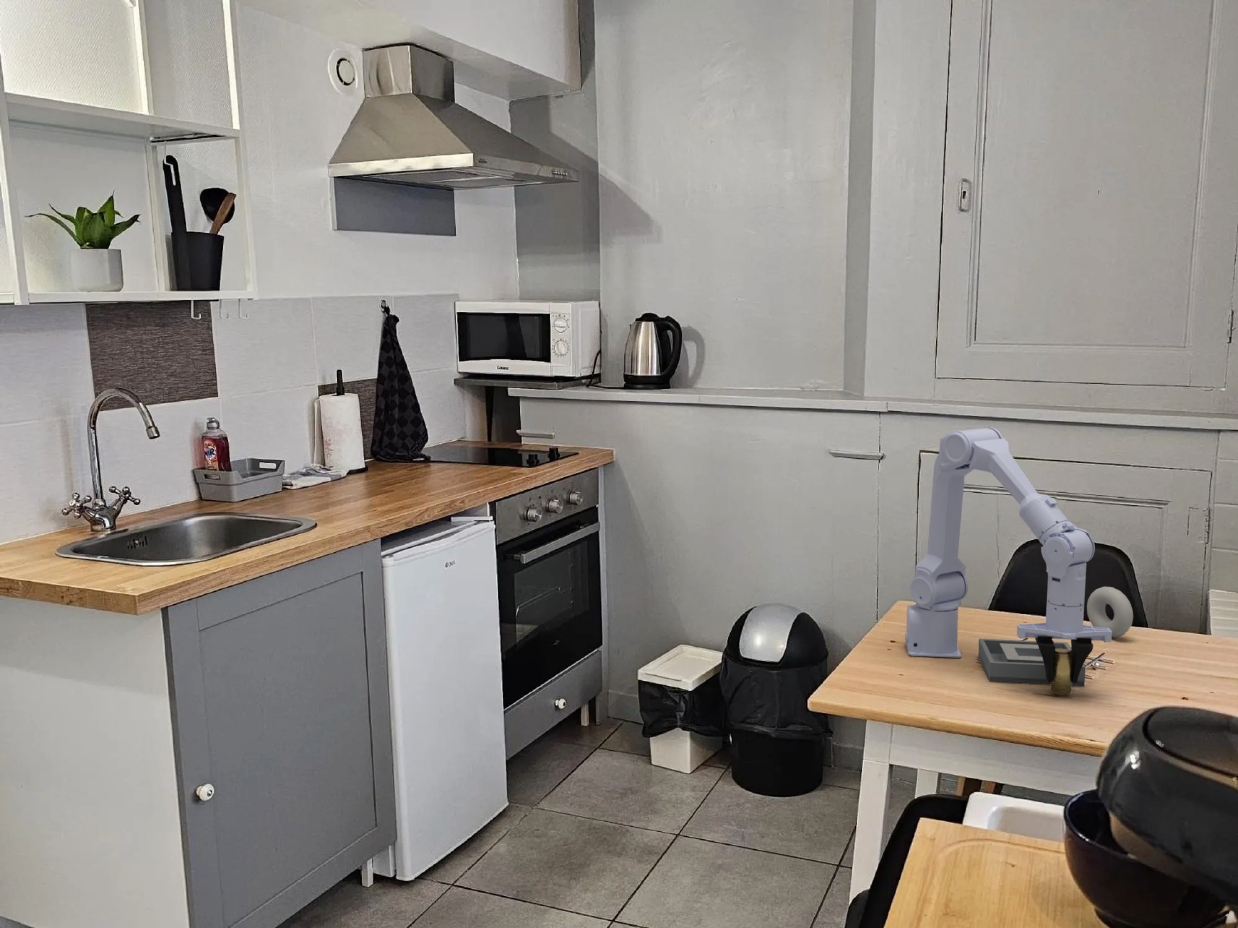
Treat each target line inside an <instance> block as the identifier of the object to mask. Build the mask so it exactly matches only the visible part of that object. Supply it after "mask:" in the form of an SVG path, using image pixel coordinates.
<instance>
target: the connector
mask: <svg viewBox="0 0 1238 928" xmlns="http://www.w3.org/2000/svg"><path fill="white" fill-rule="evenodd" d="M1072 667H1073V651H1071V650H1068V649H1062V648H1057V649H1055V654H1054V662H1053V682H1051V685H1050V692H1051V693H1053V694H1056V695H1061V696H1068V695H1071V693H1072V687H1073V686H1072Z"/></svg>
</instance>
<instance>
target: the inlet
mask: <svg viewBox="0 0 1238 928" xmlns="http://www.w3.org/2000/svg"><path fill="white" fill-rule="evenodd" d="M999 658H1000V660H1001V662H1019V663H1041V664H1044V662H1043V658H1042V655H1041V652H1040V649H1039V647H1038V645H1028V644H1005V643H999Z"/></svg>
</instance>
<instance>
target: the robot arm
mask: <svg viewBox="0 0 1238 928" xmlns="http://www.w3.org/2000/svg"><path fill="white" fill-rule="evenodd" d="M939 441H940V442H939V452H938V454H937V456H936V459H935V461H934V465H933V477H932V488H931V490H932V491H931V502H930V503H931V504H930V515H929V526H928V527H929V529H928V541H927V544H928V545H927V553H926V555H925V556H924V557H923V558H922V559H921V560H920V561H919V563H917V564H916V565H915V568H914V569H915V570H914V574H913V575H914V576H913V577H912V579H911V581H910V585H909V591H910V595H911V597H912V601H914V603H915V604H908V605H907V607H906V628H905V629H906V631H905V633H904V634H905V636H904V638H905V640H904V641H905V645H906V649H907V654H908V655H909V656H913V657H914V656H915V657H917V656H918V657H933V658H934V657H938V658H954V659H955V658H956V659H957V658H958V659H960V658H962V653H961V651H960V648H959V647H958V629H959V627H958V625H959V607H960V606H961V605H962V600H963V599H964V598H966V596H967V594H968V593H969V582H968V580H967V575H966V567H967V566H966V564H965V563H964V562H963V561H961V559H960V558H959V549H960V548H959V546H960V535H961V525H962V524H961V523H962V511H963V499H964V498H963V497H964V486H965V477H966V476H967V475H968V474H970V473H971V472H973V471H974V470H976V471H977V470H978V471H983V472H986V473H987V472H988V473H991V474H992V475H993V476H994V477H995V479H996V480H997V481H998V482H999V483H1000V484H1001V485H1002V487H1004V488H1005V490H1006V491H1007V492H1008V493H1009V494H1010V495H1011V496H1012V497H1013V499H1014V500H1015V501H1016V502H1017V503H1018V504H1019V505H1020V506H1019V517H1020V518H1021V519H1022V521H1023V522H1024V523H1025V525H1026V526H1027V527H1028V528H1029V530H1030V531H1031V532H1032V534H1033V535H1034V536H1035V537H1036V539H1037V540H1038V541H1039V543H1040V544H1042V545H1041V547H1040V549H1041V550H1040V552H1041V555H1042V556H1041V557H1042V558H1043V560H1044V562H1045V564H1046V573H1047V590H1046V591H1047V592H1046V593H1047V594H1046V595H1047V596H1046V614H1045V622H1043V623H1039V622H1038V623H1025V624H1023V623H1017V624H1016V627H1017V628H1016V636H1017V637H1018V639H1020V640H1021V639H1022V640H1024V639H1026V638H1029V639H1035V640H1034V641H1036V642H1037V644H1038V647H1039V649H1040V652H1041V655H1042V658H1043V662H1044V666H1045V671H1046V679H1047V680H1048V682H1053V662H1054V654H1055V648H1056V647H1055V646H1054V642H1055V641H1054V640H1053V639H1055V640H1070V645H1071V646H1070V647H1071V651H1073V667H1072V683H1077V680H1078V677H1079V674H1080V671H1081V668H1082V666H1083V664H1084V665H1085V662H1086V660H1087V659H1088V657H1089V655H1090V654H1091V653H1092V651H1093V649H1094V644H1093V642H1092V641H1097V642H1098V641H1100V642H1101V641H1102V642H1104V643H1112V638H1113V637H1112V631H1111V630H1110V629H1109V628H1103V627H1094V626H1093V625H1087V624H1084V612H1085V595H1086V594H1085V593H1086V580H1087V579H1086V578H1087V576H1086V573H1087V562H1090V561H1091V560H1092V559H1093V557H1094V554H1095V551H1096V547H1095V542H1094V539H1093V538H1092V536H1091V535H1090V532H1088V531H1087V530H1085V529H1083V528H1079V527H1077V526H1076V525H1075V524H1073V523H1072V521H1069V519H1068V518H1067V516H1065V514H1064V513H1063V511H1062V510H1061V509H1060V508H1059V507H1058V506H1057V504H1058V502H1057V501H1056V499H1055V498H1054V497H1051V496H1050V495H1048V494H1044V493H1043V494H1041V493H1038V492H1037V491H1036V489H1035V488H1034V487H1035V486H1033V484H1032V483H1031V482H1030V480H1029V479H1028V477H1027V476H1026V474H1025V473H1024V471H1023V470H1022V469H1021V466H1020V465H1019V464H1018V462H1017V461H1016V460H1015V458H1014V457H1013V456H1012V454H1011V452H1010V443H1009V442H1008V441H1007V440H1006V439H1005V438H1004V437H1003V435H1002V433H1001V432H1000V431H999V430H998V429H997V428H994V427H990V426H987V427H983V428H975V429H974V428H973V429H967V430H966V429H965V430H957V429H956V430H951V431H950V432H949V433H948V434H947V433H946V434H945V435H944V436H943V437H942V438H940V440H939Z"/></svg>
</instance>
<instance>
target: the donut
mask: <svg viewBox="0 0 1238 928" xmlns="http://www.w3.org/2000/svg"><path fill="white" fill-rule="evenodd" d="M1086 604H1087V605H1086V611H1087V617H1088V619H1089V620H1088V621H1089V622H1090V624H1091V626H1094V627H1103V628H1109V629H1110V630H1111V631H1112V638H1119V637H1121V636H1124V635H1125V634H1126V633H1127V632H1129V631H1130V629H1131V627H1132V625H1133V621H1134V620H1133V619H1134V612H1133V608H1132V604H1131V602H1130V600H1129V599H1128V597H1127V596H1126V595H1125V594H1124V593H1123V592H1122V591H1121V590H1119V589H1118V588H1117V589H1116V588H1115V587H1113V586H1112V587H1111V586H1102V587H1099V588H1097V589H1095V590H1094V591H1093V592H1092V593H1090V596H1089V597H1088V599H1087V602H1086ZM1107 605H1109V606H1110V607H1111V609H1112V610H1113V618H1112V619H1110V618H1109V617H1108V616H1107V613H1106V606H1107Z"/></svg>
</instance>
